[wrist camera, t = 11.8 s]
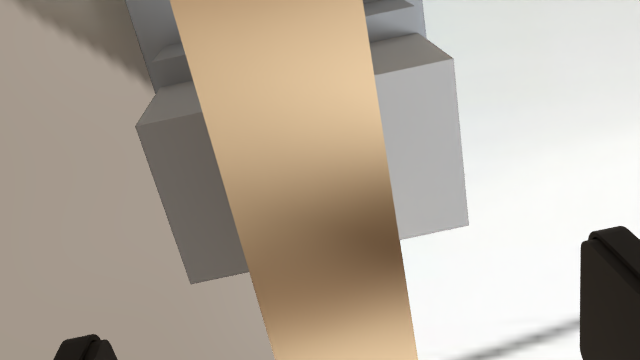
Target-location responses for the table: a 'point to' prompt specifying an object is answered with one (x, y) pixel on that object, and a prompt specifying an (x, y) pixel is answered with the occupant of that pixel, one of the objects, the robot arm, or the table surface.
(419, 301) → the table surface
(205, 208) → the fulcrum stand
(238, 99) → the tan long bar
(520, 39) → the table surface
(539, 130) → the table surface
